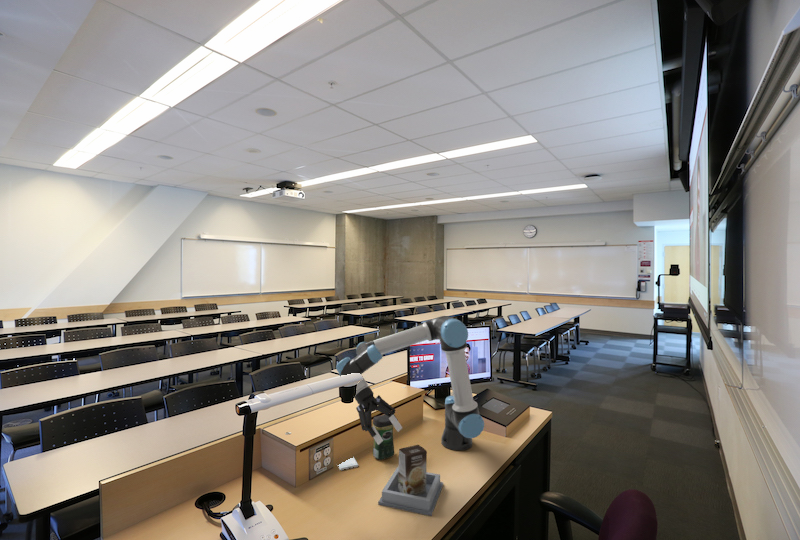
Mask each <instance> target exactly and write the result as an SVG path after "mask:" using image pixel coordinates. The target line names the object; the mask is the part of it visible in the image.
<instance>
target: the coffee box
mask: <svg viewBox="0 0 800 540" xmlns="http://www.w3.org/2000/svg"><path fill="white" fill-rule="evenodd" d="M427 455H428V451H427V450H426V449H425V448H424V447H423V446H421V445H420V444H415V445H410V446H407V447H401V448H399V449H398V467H399V476H398V490H399V492H400V493H405V494H410V495H414V496H415V495H419V494H422V493H425V492H426V472H427V460H428V459H427Z"/></svg>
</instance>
